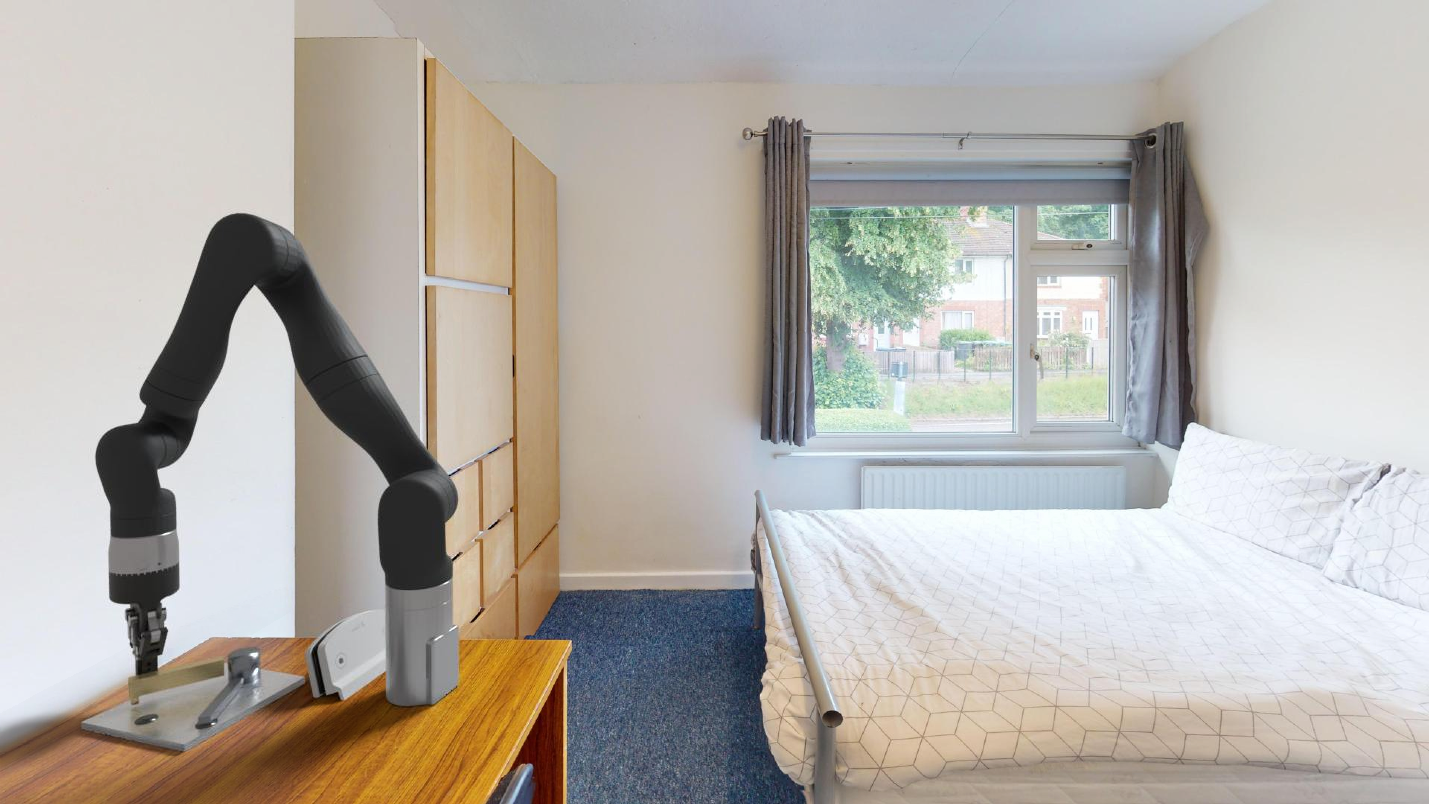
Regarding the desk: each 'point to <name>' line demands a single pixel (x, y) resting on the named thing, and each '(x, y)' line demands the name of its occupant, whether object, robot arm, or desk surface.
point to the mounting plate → (197, 705)
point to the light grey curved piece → (348, 655)
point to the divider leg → (174, 677)
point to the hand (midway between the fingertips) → (146, 681)
